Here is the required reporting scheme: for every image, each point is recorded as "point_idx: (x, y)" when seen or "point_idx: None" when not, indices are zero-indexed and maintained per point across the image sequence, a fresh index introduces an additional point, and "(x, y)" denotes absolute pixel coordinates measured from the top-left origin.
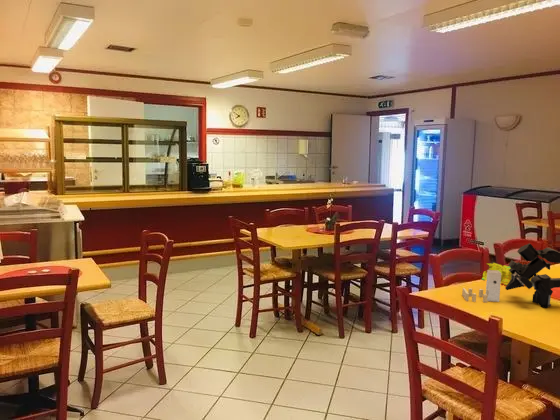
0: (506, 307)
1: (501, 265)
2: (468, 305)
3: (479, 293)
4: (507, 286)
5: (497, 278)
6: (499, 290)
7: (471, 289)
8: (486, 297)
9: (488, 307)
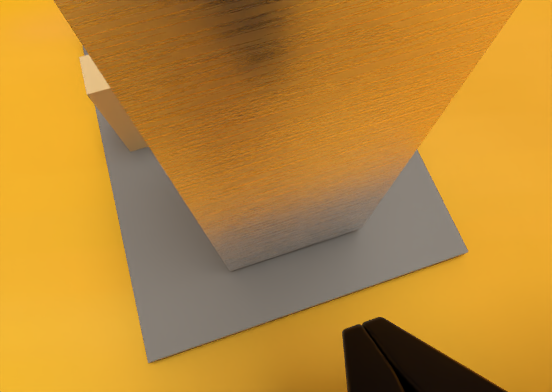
0: (110, 378)
1: None
2: (21, 20)
3: None
4: (353, 378)
5: None
6: (201, 221)
7: None
8: (100, 105)
9: (24, 183)
